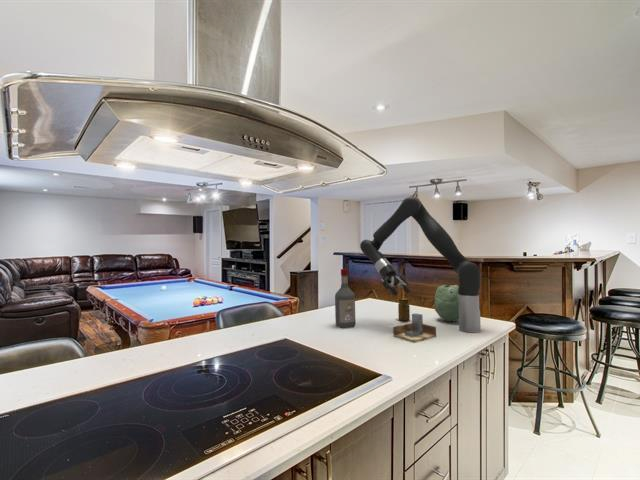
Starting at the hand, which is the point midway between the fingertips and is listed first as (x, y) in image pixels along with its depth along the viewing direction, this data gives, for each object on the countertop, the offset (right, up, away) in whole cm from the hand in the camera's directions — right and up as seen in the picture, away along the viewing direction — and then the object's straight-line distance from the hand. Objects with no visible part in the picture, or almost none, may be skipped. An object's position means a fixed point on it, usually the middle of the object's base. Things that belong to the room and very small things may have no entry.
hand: (402, 293), depth 157 cm
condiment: (+7, -19, +23) cm, 30 cm away
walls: (+3, -18, -9) cm, 21 cm away
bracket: (+3, -17, -10) cm, 20 cm away
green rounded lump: (+31, -18, +19) cm, 41 cm away
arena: (+3, -18, -9) cm, 21 cm away
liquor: (-27, -19, +14) cm, 36 cm away
